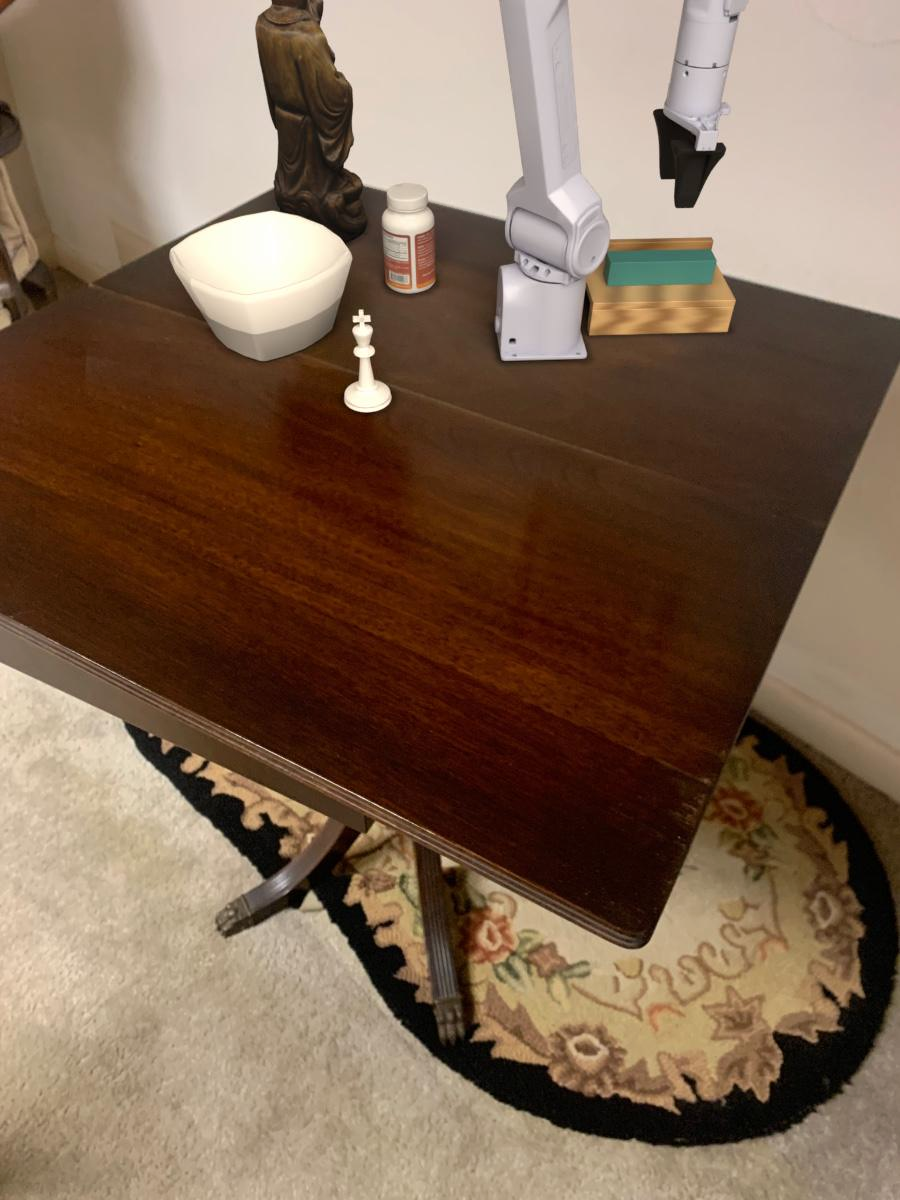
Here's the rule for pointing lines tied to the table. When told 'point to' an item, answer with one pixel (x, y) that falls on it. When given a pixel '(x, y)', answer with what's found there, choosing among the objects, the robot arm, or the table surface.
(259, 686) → the table surface
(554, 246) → the robot arm
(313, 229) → the bowl
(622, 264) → the stick
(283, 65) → the sculpture
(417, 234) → the pill bottle
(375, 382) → the chess piece
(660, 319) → the wooden stepped tray
